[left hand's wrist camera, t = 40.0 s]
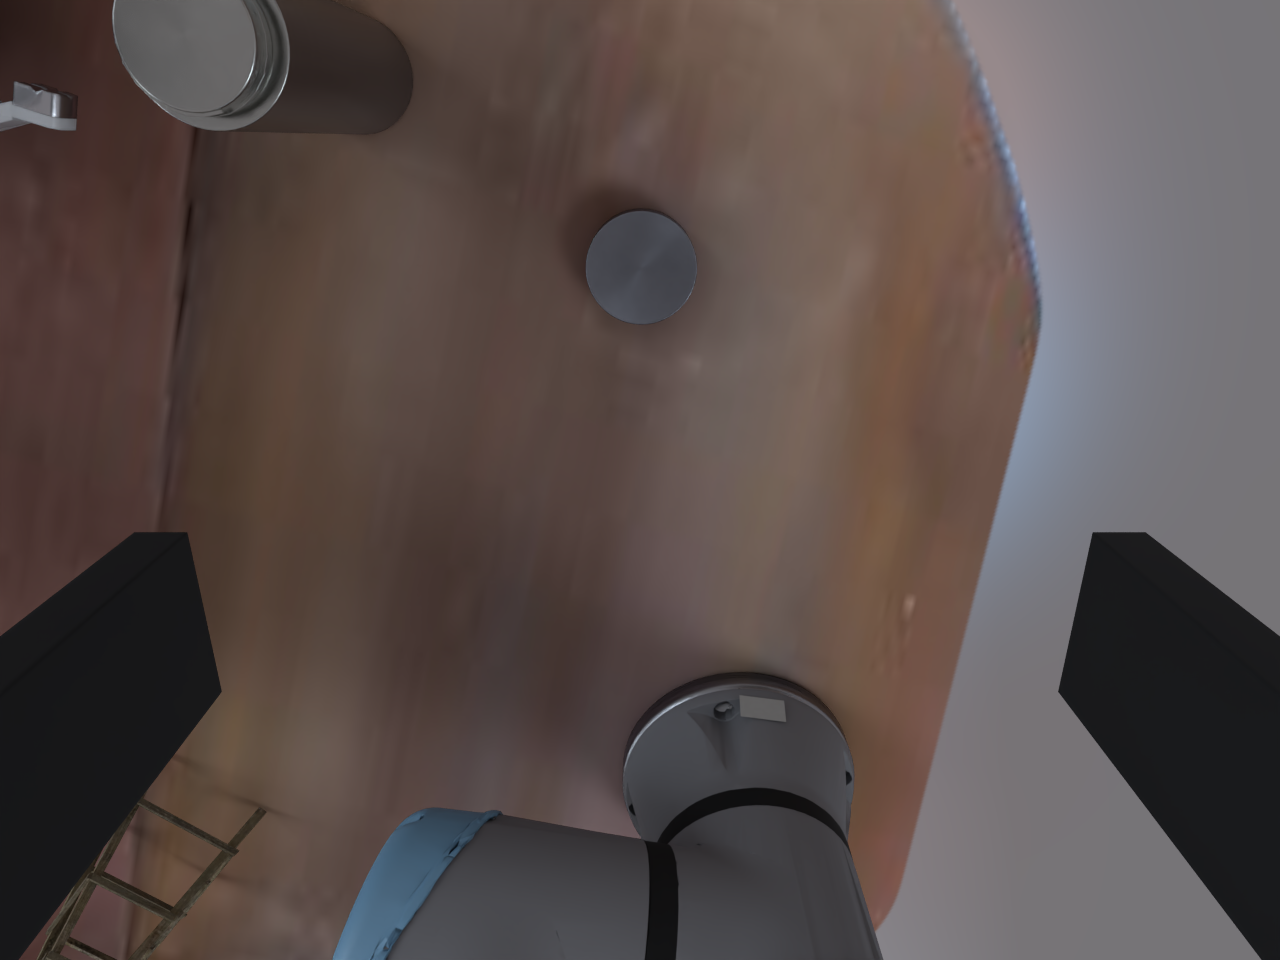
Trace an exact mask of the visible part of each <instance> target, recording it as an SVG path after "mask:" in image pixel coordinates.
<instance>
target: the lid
mask: <svg viewBox="0 0 1280 960" xmlns="http://www.w3.org/2000/svg"><path fill="white" fill-rule="evenodd" d="M696 275H697V260H696V254H695V251H694V248H693V245H692V243H691V241H690V239H689V237H688V235H687V234H686V232H685V231H684V229H683V228H682V227H681V226H680V225H679V224H678V223H677V222H676V221H675V220H673V219H672V218H671V217H669V216H667V215H665V214H664V213H661V212H658V211H655V210H651V209H632V210H627V211H624V212H621V213H619V214H617V215H615V216H614V217H612V218H611V219H609V220H608V221H607V222H606V223H605V224H603V226H602V227H601V228H600V229H599V230H598V232H597V233H596V235H595V236H594V238H593V241H592V243H591V245H590V247H589V250H588V253H587V259H586V277H587V282H588V285H589V288H590V291H591V293H592V295H593V297H594V298H595V300H596V301H597V303H598V304H599V305H600V306H601V307H602V308H603V309H604V310H605V311H606V312H607V313H609V314H610V315H612V316H613V317H615V318H617V319H619V320H621V321H624V322H627V323H632V324H651V323H656V322H659V321H662V320H664V319H666V318H668V317H670V316H671V315H673V314H674V313H675V312H677V311H678V310H679V309H680V308H681V307H682V306H683V305H684V304H685V302H686V301H687V299H688V298H689V296H690V294H691V292H692V290H693V287H694V285H695V280H696Z"/></svg>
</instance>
